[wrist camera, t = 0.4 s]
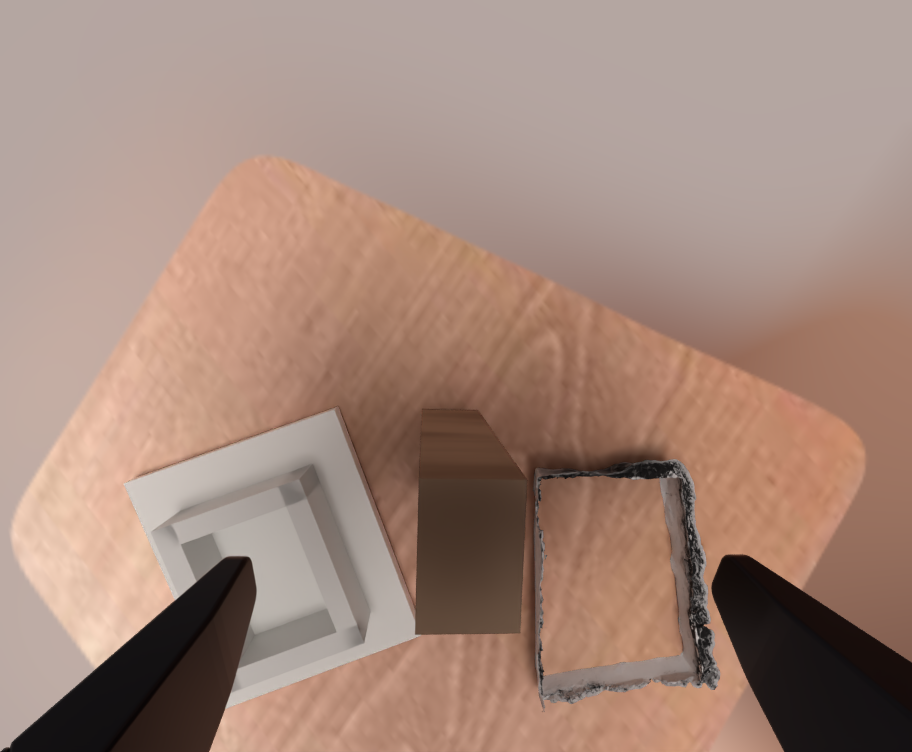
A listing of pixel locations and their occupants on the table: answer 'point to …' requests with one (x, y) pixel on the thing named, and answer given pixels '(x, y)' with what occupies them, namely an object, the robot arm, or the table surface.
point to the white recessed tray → (284, 547)
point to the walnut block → (468, 528)
